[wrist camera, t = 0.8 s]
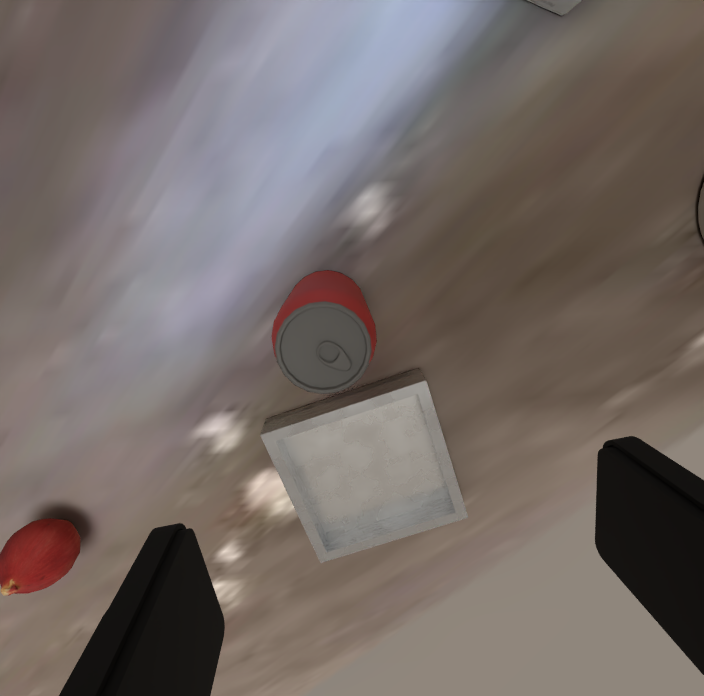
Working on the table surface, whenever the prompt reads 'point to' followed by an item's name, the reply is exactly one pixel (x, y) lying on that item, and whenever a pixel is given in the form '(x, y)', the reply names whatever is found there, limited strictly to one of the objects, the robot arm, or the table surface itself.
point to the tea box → (557, 5)
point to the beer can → (324, 333)
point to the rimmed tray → (366, 466)
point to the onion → (38, 556)
